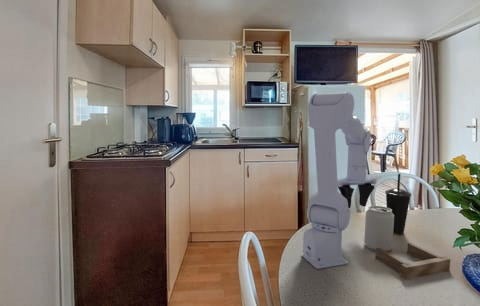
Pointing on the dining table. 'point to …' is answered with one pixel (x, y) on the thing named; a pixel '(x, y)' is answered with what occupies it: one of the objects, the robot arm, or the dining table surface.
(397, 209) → the drinking cup
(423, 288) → the dining table surface
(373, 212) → the can
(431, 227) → the dining table surface
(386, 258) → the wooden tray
